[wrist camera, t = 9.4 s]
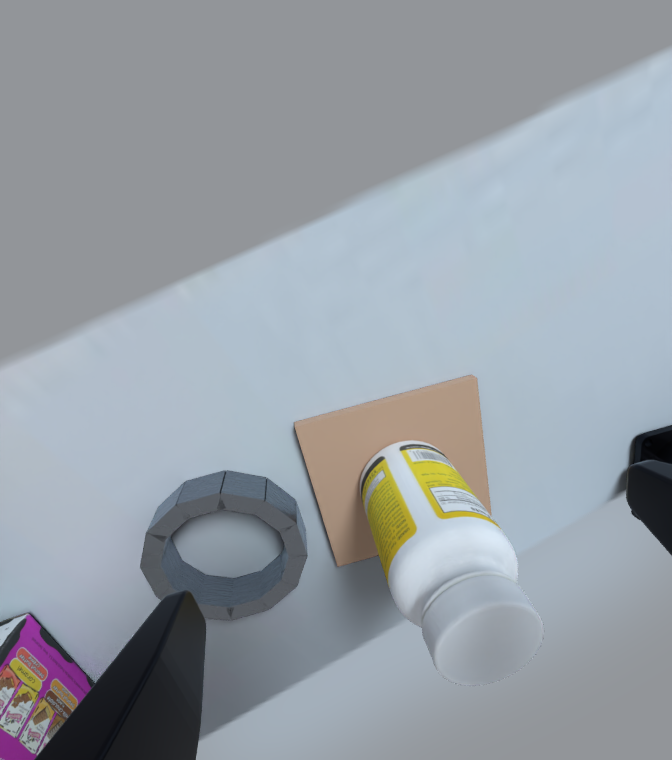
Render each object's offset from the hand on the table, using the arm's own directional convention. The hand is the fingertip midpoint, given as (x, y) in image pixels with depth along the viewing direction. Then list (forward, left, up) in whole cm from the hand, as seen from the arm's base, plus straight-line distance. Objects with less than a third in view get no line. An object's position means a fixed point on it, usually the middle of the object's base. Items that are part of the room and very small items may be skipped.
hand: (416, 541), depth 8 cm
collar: (+8, +9, -13) cm, 18 cm away
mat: (-2, +8, -13) cm, 15 cm away
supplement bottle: (-2, +8, -13) cm, 15 cm away
